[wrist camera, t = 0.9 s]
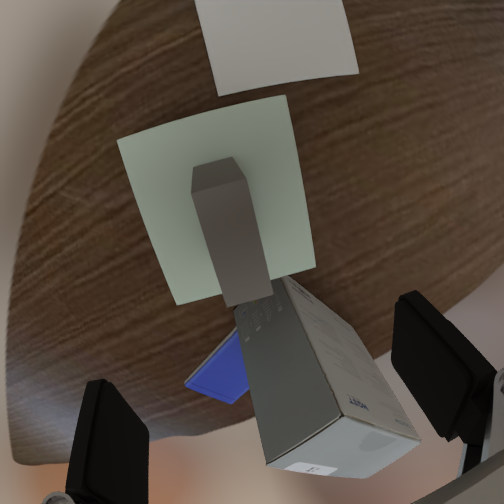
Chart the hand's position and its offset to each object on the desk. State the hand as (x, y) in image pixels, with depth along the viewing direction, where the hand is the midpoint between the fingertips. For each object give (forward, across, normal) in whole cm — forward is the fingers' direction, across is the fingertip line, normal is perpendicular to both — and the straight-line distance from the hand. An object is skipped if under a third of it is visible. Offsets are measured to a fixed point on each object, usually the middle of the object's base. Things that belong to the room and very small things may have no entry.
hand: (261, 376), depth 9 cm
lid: (+18, 0, 0) cm, 18 cm away
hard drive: (+25, +4, +24) cm, 34 cm away
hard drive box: (+24, -6, +19) cm, 31 cm away
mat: (+23, -10, -14) cm, 29 cm away
